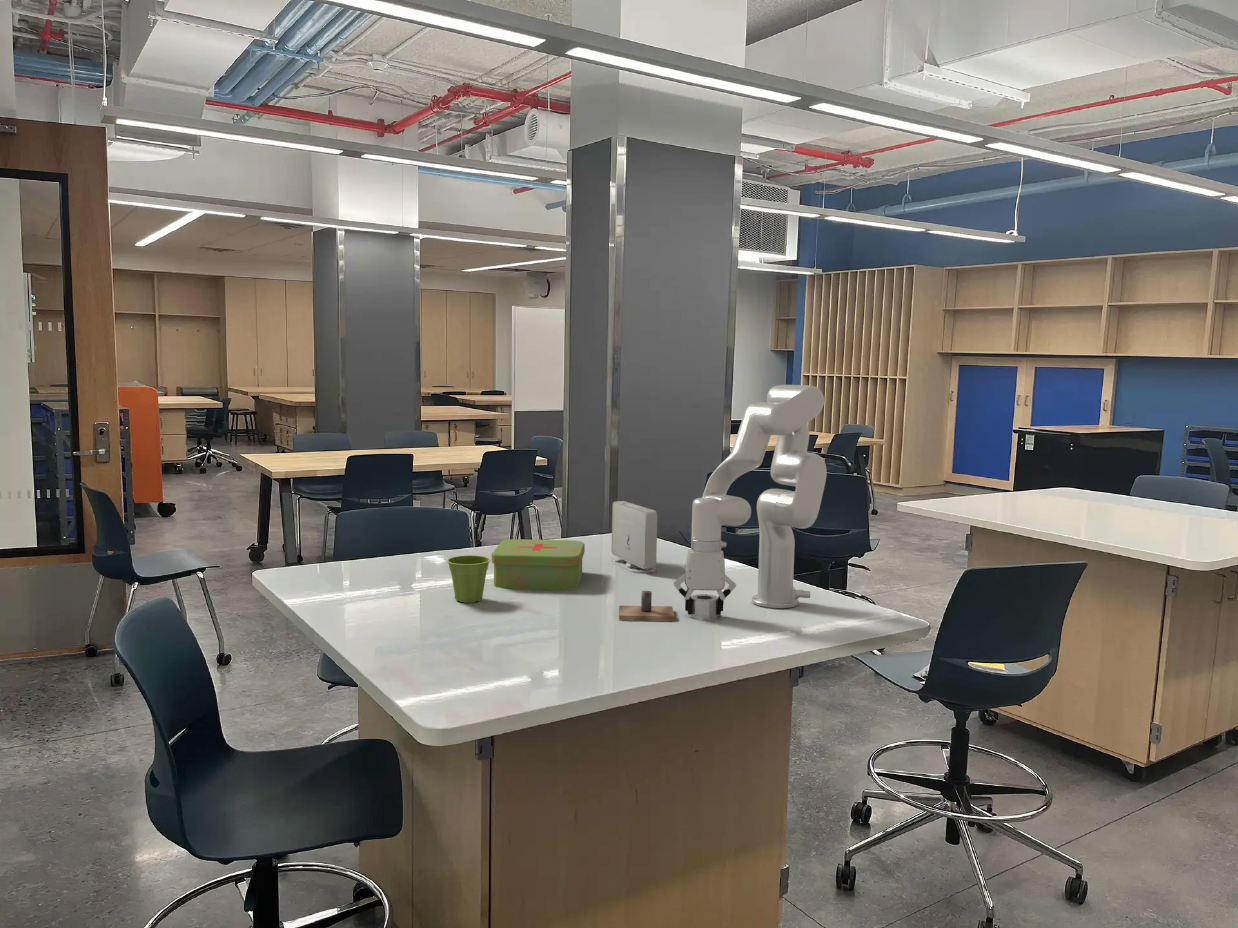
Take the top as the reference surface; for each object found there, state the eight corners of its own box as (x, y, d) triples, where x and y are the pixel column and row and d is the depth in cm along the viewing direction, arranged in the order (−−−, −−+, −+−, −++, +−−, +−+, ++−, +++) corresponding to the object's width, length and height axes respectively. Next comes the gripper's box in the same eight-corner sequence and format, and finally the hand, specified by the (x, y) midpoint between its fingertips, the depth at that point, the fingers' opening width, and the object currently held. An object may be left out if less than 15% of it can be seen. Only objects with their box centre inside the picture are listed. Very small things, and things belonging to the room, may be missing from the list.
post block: (671, 610, 237) (672, 587, 236) (674, 620, 227) (675, 596, 226) (618, 609, 237) (619, 586, 236) (619, 620, 227) (619, 596, 226)
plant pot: (441, 597, 247) (441, 557, 246) (482, 593, 252) (482, 553, 251) (453, 607, 237) (454, 565, 235) (496, 602, 242) (496, 561, 241)
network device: (605, 560, 301) (606, 501, 299) (628, 558, 305) (629, 500, 303) (638, 575, 278) (640, 512, 276) (663, 573, 282) (665, 510, 280)
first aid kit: (579, 591, 258) (580, 556, 257) (489, 589, 259) (489, 554, 258) (584, 571, 284) (585, 540, 283) (502, 569, 285) (502, 538, 284)
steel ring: (715, 612, 235) (716, 594, 235) (719, 620, 228) (719, 600, 228) (689, 612, 235) (689, 593, 235) (691, 619, 228) (692, 600, 228)
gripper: (737, 543, 234) (735, 610, 236) (671, 542, 234) (669, 609, 235) (741, 549, 226) (739, 618, 228) (673, 548, 226) (671, 617, 228)
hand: (704, 613), depth 232 cm, fingers closed on steel ring, 7 cm apart
